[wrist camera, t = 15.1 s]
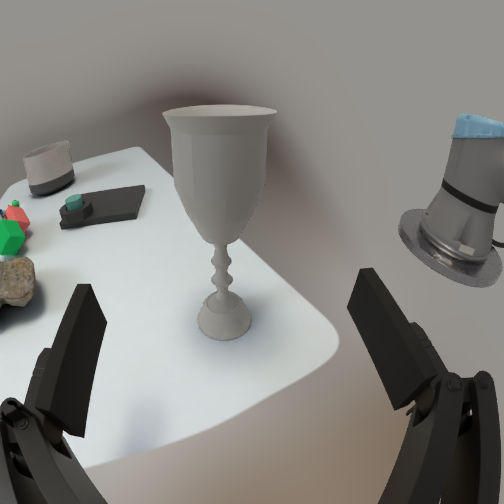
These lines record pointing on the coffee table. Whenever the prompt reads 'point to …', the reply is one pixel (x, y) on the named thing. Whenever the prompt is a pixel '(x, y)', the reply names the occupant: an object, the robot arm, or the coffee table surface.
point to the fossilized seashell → (17, 281)
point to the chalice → (220, 192)
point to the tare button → (74, 202)
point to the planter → (49, 168)
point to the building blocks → (12, 229)
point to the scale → (104, 207)
